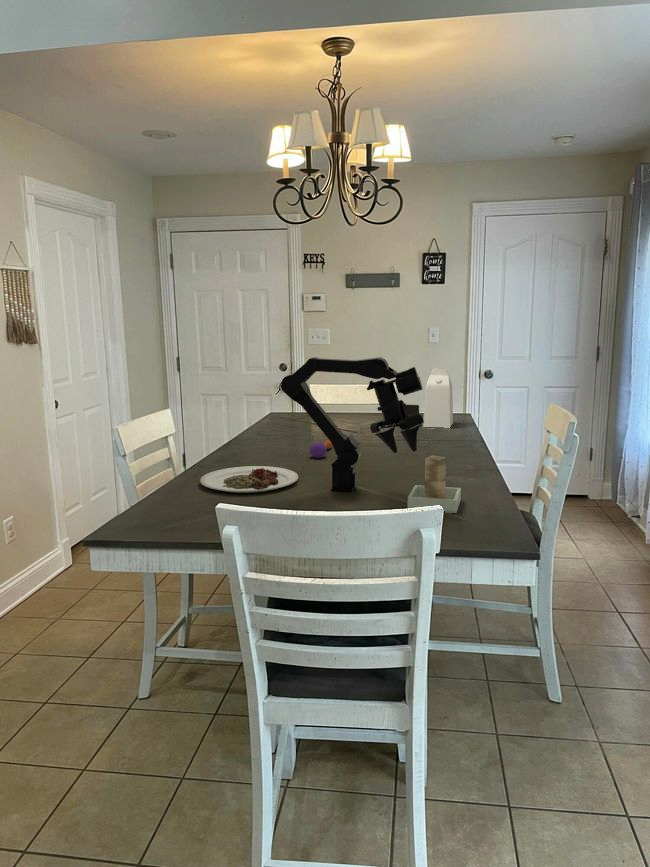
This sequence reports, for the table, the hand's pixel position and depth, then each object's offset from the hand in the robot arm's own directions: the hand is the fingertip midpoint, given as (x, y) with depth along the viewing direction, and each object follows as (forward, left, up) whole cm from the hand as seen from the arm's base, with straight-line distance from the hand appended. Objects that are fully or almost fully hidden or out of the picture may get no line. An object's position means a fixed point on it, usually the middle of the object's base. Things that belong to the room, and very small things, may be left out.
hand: (405, 451), depth 187 cm
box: (+10, -12, -12) cm, 19 cm away
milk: (-4, +112, -12) cm, 113 cm away
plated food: (-48, -2, -12) cm, 49 cm away
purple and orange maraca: (-38, +44, -12) cm, 59 cm away
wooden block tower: (+10, -12, -11) cm, 19 cm away
